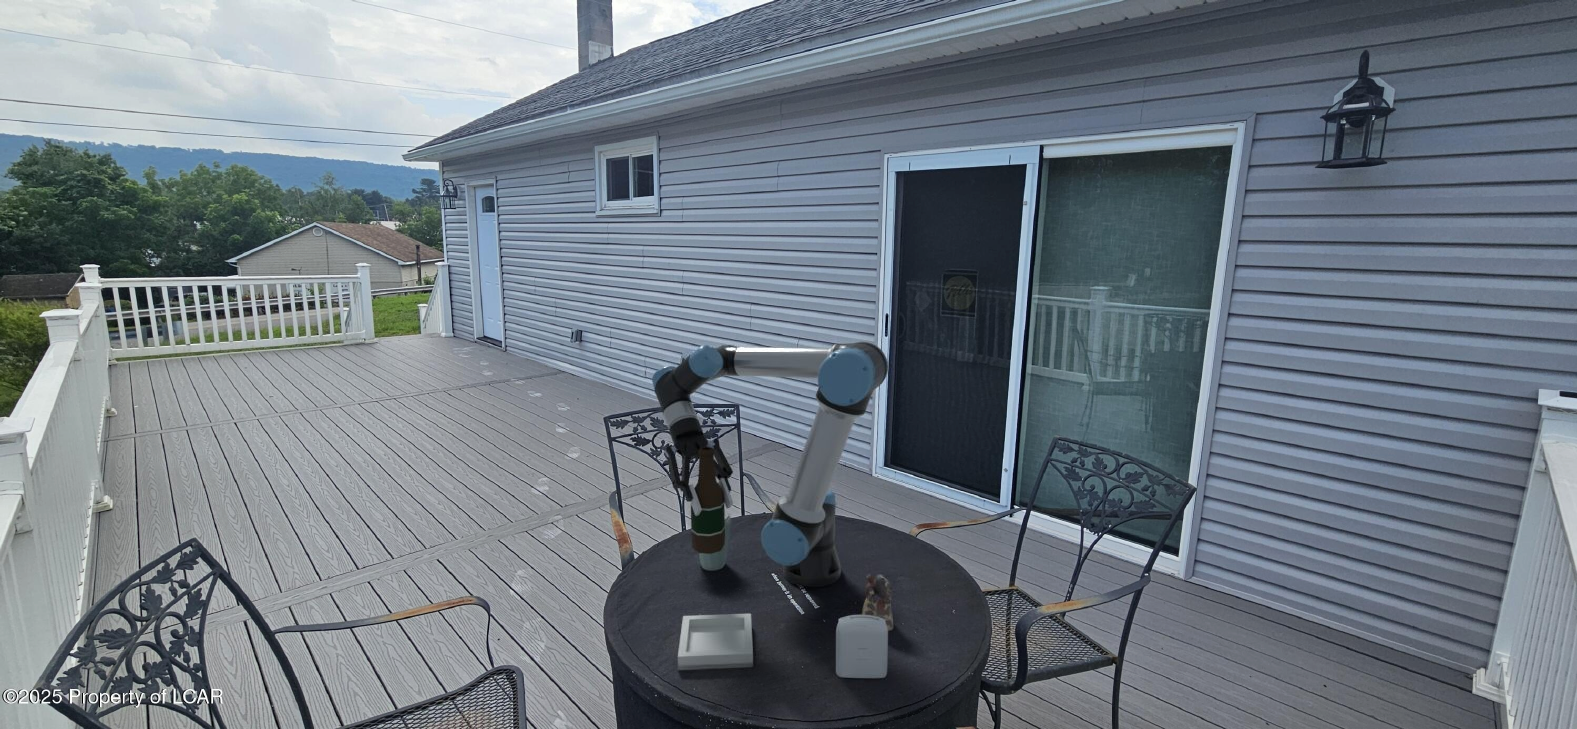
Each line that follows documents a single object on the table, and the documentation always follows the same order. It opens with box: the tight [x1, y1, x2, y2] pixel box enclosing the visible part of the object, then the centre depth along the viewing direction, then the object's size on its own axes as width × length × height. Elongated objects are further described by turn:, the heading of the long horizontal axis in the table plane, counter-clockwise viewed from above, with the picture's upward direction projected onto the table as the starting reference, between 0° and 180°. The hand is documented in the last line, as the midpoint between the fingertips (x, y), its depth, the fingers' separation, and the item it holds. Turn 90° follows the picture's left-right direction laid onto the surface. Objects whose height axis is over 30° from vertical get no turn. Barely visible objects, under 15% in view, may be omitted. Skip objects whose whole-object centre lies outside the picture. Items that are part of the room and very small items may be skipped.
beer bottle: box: [690, 446, 726, 554], centre depth 154 cm, size 8×8×24 cm
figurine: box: [861, 574, 894, 632], centre depth 150 cm, size 7×7×12 cm
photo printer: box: [835, 614, 889, 679], centre depth 132 cm, size 10×4×12 cm, turn 88°
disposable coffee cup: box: [698, 509, 732, 572], centre depth 177 cm, size 11×11×15 cm
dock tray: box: [677, 613, 754, 671], centre depth 142 cm, size 15×15×3 cm
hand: (714, 509), depth 151 cm, fingers closed on beer bottle, 7 cm apart
